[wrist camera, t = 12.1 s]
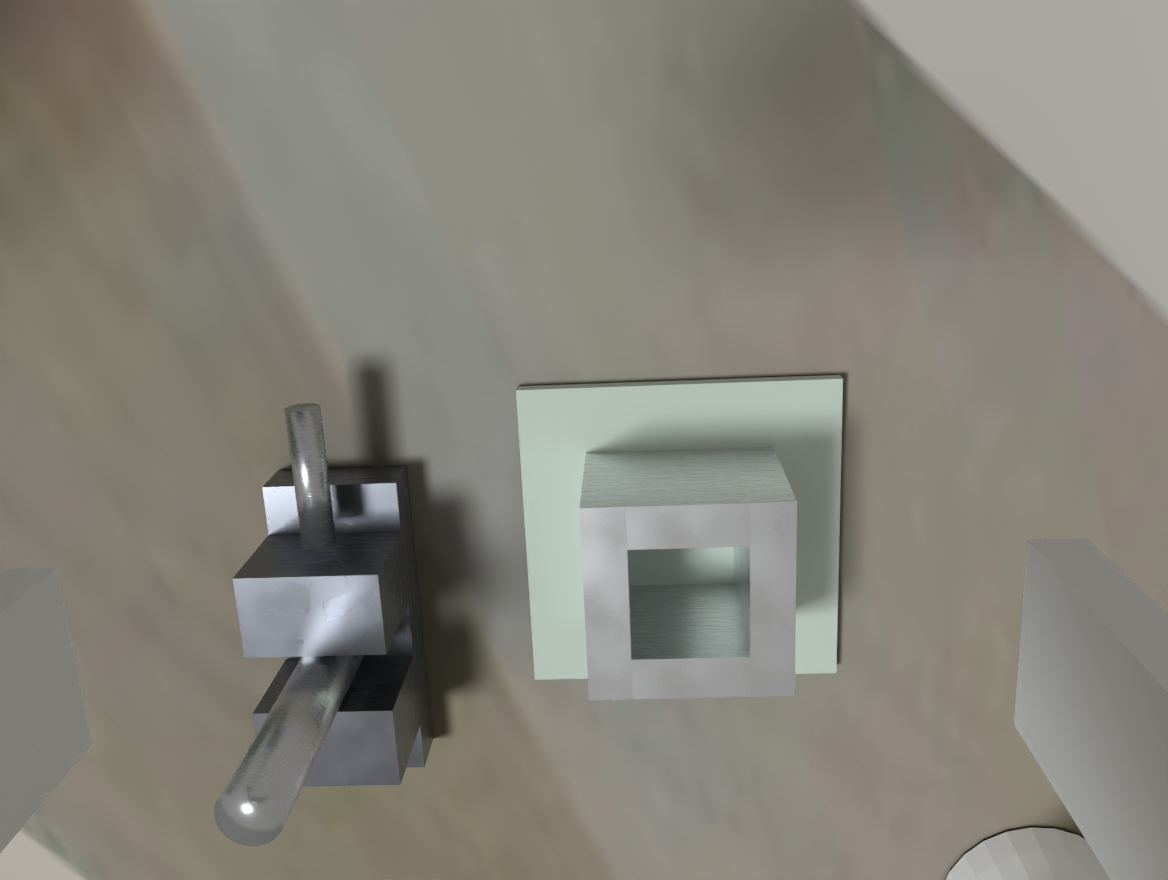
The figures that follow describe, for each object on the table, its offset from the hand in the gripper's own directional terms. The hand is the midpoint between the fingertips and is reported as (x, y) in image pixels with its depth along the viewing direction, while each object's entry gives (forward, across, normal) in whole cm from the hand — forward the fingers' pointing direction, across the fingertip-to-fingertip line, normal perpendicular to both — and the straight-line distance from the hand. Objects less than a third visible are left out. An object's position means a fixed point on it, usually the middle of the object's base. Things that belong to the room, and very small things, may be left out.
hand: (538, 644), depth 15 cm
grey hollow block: (+26, +3, -9) cm, 28 cm away
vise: (+27, -10, -10) cm, 30 cm away
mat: (+27, +3, -9) cm, 28 cm away
